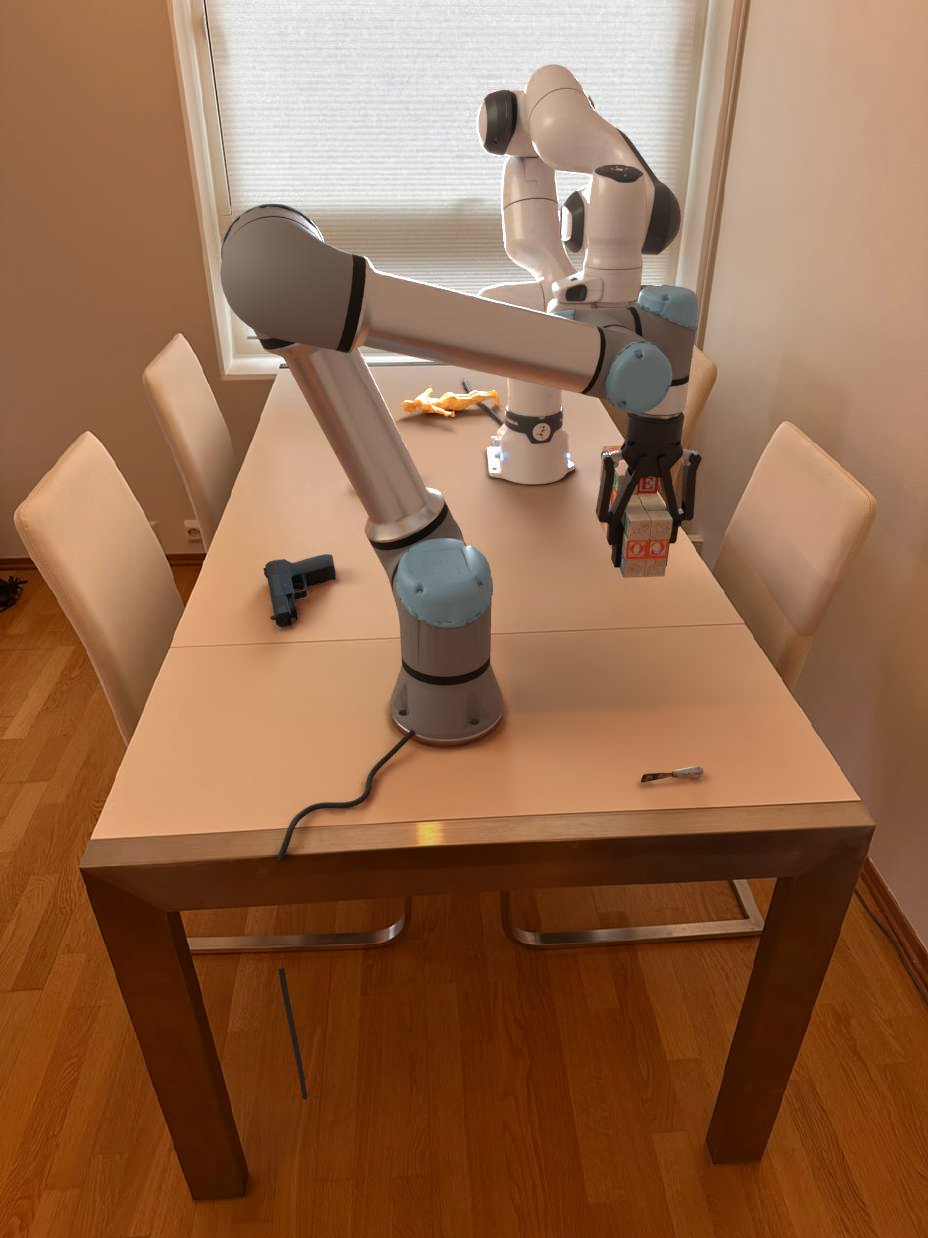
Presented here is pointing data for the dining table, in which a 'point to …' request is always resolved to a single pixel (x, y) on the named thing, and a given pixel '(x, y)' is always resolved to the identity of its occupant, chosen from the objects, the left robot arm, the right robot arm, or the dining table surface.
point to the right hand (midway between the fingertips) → (605, 377)
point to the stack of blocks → (641, 526)
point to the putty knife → (674, 774)
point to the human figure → (448, 402)
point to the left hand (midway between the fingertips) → (638, 562)
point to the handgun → (295, 583)
